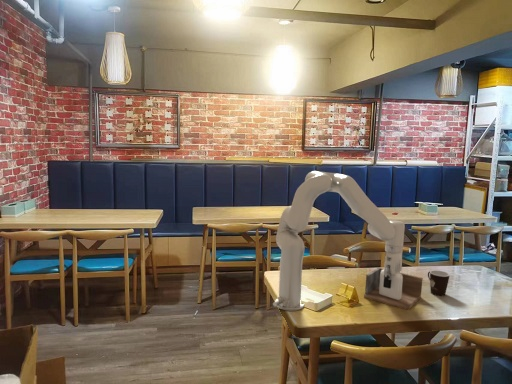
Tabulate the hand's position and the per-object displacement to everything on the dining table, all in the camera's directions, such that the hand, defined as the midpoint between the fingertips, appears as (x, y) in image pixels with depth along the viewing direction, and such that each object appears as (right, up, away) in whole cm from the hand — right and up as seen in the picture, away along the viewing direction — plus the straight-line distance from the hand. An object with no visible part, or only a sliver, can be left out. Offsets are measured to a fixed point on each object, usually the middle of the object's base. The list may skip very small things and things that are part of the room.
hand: (391, 284), depth 182 cm
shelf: (+2, -7, +3) cm, 8 cm away
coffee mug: (+26, -6, +11) cm, 29 cm away
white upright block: (0, -6, +1) cm, 6 cm away
